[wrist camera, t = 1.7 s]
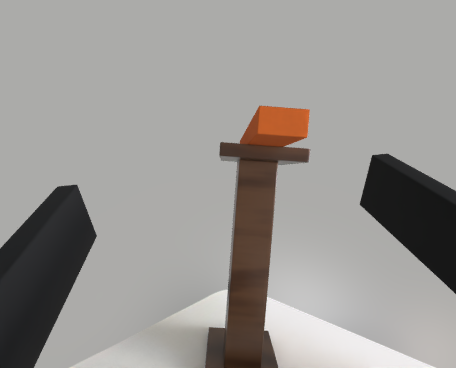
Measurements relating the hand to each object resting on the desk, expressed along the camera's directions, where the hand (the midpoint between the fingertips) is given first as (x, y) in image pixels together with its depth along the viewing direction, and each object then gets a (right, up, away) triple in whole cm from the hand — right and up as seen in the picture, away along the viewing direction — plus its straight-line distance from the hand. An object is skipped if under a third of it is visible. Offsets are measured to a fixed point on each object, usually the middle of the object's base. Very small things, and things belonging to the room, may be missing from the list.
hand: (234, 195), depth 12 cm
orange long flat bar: (+4, +5, +20) cm, 21 cm away
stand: (+2, -25, +25) cm, 35 cm away
